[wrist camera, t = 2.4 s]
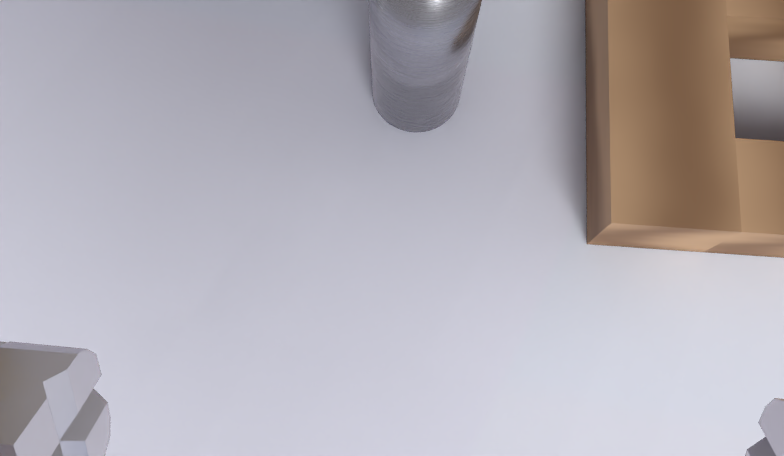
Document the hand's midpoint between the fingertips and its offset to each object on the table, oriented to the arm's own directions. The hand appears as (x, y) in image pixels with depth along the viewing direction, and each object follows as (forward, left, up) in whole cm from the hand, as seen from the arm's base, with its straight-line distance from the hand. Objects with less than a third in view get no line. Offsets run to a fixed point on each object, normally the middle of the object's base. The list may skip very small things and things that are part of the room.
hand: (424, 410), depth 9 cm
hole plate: (+14, +13, -17) cm, 25 cm away
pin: (0, +13, -17) cm, 21 cm away
